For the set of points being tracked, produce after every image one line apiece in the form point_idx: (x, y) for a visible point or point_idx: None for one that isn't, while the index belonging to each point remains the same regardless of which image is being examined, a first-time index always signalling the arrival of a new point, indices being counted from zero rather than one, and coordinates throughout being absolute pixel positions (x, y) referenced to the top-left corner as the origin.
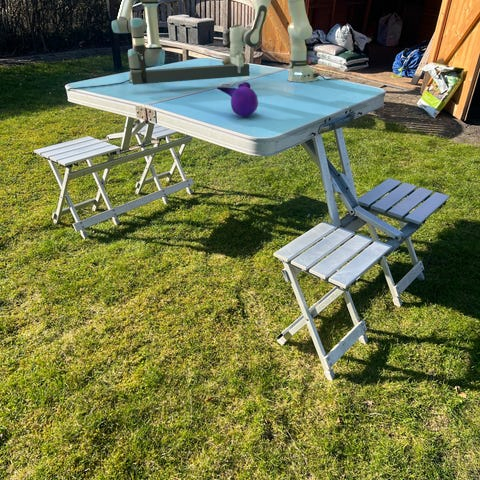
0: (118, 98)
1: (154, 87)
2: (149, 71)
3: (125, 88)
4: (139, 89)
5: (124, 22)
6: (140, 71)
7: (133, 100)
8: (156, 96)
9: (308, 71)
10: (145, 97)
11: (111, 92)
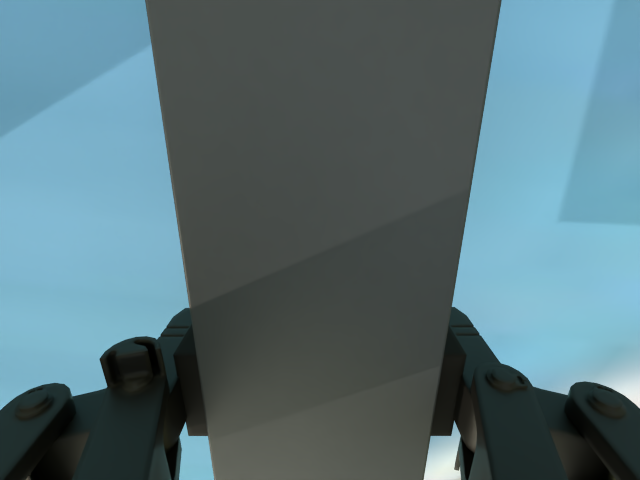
0: (448, 447)
1: (56, 87)
2: (458, 259)
3: (67, 372)
4: (139, 265)
5: None
6: (355, 462)
7: (595, 362)
8: (570, 138)
9: None
10: (543, 256)
11: (207, 469)
